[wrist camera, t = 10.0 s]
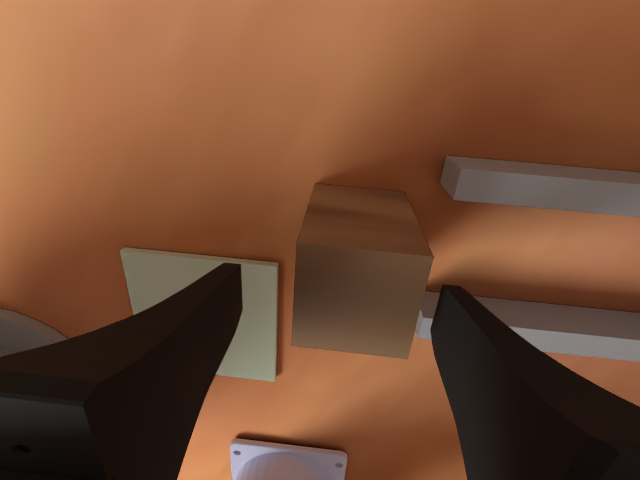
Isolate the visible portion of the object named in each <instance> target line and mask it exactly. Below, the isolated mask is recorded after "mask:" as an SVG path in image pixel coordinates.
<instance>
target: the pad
mask: <svg viewBox="0 0 640 480" xmlns="http://www.w3.org/2000/svg"><path fill="white" fill-rule="evenodd" d="M120 255H121V260H122V264H123V269H124V274H125V279H126V283H127V288H128V293H129V297H130V302H131V307H132V311H133V315H135V314H137V313H139V312H141V311H143V310H146V309H148V308H150V307H152V306H154V305H156V304H158V303H159V302H161V301H163V300H165V299H166V298H168V297H170V296H172V295H173V294H175V293H177V292H179V291H180V290H182V289H184V288H185V287H187V286H189V285H190V284H192V283H193V282H195V281H196V280H198V279H199V278H201V277H202V276H204V275H205V274H207V273H208V272H210V271H212V270H213V269H215V268H216V267H218V266H219V265H221V264H223V263H224V262H225V263H235V264H241V277H242V303H243V311H242V314H241V317H240V320H239V324H238V327H237V330H236V332H235V335H234V337H233V339H232V341H231V344H230V346H229V348H228V350H227V352H226V354H225V356H224V358H223V360H222V362H221V364H220V366H219V369H218V371H217V373H216V375H219V376H228V377H236V378H245V379H254V380H263V381H271V382H275V380H276V367H277V315H278V263H277V262H267V261H257V260H247V259H237V258H227V257H217V256H207V255H197V254H187V253H177V252H167V251H157V250H147V249H137V248H127V247H124V248H123V249H121V250H120Z"/></svg>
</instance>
